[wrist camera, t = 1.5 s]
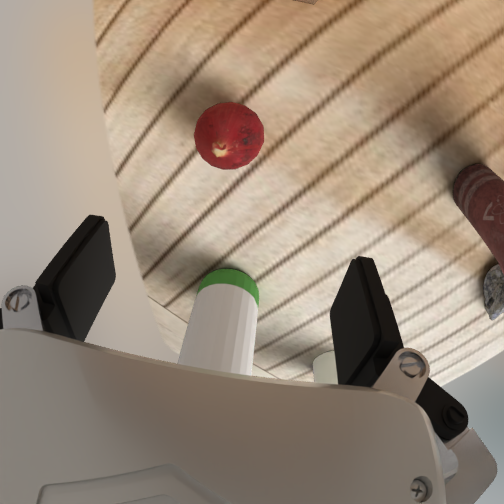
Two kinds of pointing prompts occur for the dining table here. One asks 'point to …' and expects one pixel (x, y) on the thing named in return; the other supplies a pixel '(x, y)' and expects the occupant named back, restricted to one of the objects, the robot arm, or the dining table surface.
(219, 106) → the onion
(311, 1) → the wooden square tray
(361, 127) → the dining table surface
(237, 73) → the dining table surface
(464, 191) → the can
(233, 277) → the wine bottle
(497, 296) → the fossilized seashell
